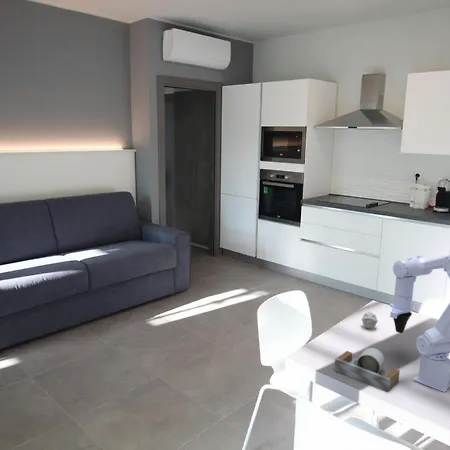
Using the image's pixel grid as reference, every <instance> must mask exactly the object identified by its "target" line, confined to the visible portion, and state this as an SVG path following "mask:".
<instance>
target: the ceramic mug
mask: <svg viewBox="0 0 450 450" xmlns="http://www.w3.org/2000/svg"><path fill="white" fill-rule="evenodd" d="M349 363H351V364H354V365H356V366H359V367H361V368H364V369H367V370H369V371H372V372H374V373H377V374H379V375H380V372H381V370H382V369H383V366H384V364H385V357H384V355H383V352H382V351H380V350H379V349H377V348H375V347H369V348H366V349H364V350H363V351H362V352H361V354H360V355H359V356H358V357H357V358H355V359H352V361H350V362H349Z"/></svg>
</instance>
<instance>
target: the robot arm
mask: <svg viewBox="0 0 450 450" xmlns="http://www.w3.org/2000/svg"><path fill="white" fill-rule="evenodd" d="M438 269H439V270H440V269H443V271H444V272H446V274H447V276H448V279H450V255H449V254H448V255H444V256H443V255H442V256H438V257H434V258H430V257H427V256H424V255H417V256H416V257H415V258H412V257H409V258H407V259H406V260H400V259H399V260H397V261H395V262H394V263H393V266H392V270H393V271H392V272H393V274H394V275H395V284H394V286H395V287H394V297H393V302H391V303H390V304H389V307H391V311H390V313H389V314H390V315H389V317H390V318H392V319H393V323H394V327H395V332H397V333H400V334H403V333H404V331H405V329H406V326H407V324H408V321H409V319H410V318H411V316H412V315H413V314H412V310H413V306H414V305H413V304H414V302H413V295H414V286H415V285H414V284H415V282H416V281H417V277H420V276H427V275H430V274H431V273H432V272H433V270H438ZM415 346H416V349H417V351H418V353H419V354H420V360H419V368H418V369H419V370H418V373H417V374H416V376H414V378H413V381H415V382H417V383H419V384H422V385H425V386H427V387H430V388H433V389H436V390H438V391H440V392H443V393H445V392H447V390H449V388H450V358H449V354H450V302H449V303H448V305H447V306H446V308H445V310H444V311H443V312H442V314H441V315H440V317H439V319H438V320H437V322H436V323H435V324H434V326H433V327H431V328H428V329H427V330H425V331H424V332H423V334H421V335H419V336H417V338H416V342H415Z"/></svg>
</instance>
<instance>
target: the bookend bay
mask: <svg viewBox="0 0 450 450" xmlns="http://www.w3.org/2000/svg"><path fill="white" fill-rule="evenodd" d="M352 360H353V352H351V351H348V350H346V351H344V352H343V353H342V354H341V355H339V356H337V357H336V358H334V371H335V372H338V373H341V374H343V375H346V376H347V377H350V378H352V379H355V380H357V381H360V382H362V383H364V384H367V385H369V386H371V387H374V388H377V389H379V390H382V391H384V392H386V393H389V392H390V391H391V390H392V389H393V388H394V387H395V386H396V385H397V384H398V383H399V381H400V380H399V379H400V369H398V368H395V367H393V368H392V369H391V370H389V372H387V373H386V374H384V375H382V374H380V373H379V374H377V373H374V372H372V371H369V370H367V369H364V368H361V367H359V366H356V365H354V364H351V363H349V362H350V361H352Z"/></svg>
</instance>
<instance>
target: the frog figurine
mask: <svg viewBox="0 0 450 450" xmlns="http://www.w3.org/2000/svg"><path fill="white" fill-rule="evenodd" d="M361 321H362V324H363V326H364V327H365V328H367V329H373V328H375V326H376V325H377V323H378V317H377V315H376V314H375V313H373V312H372V311H368V312H365V313H364V314H363V315H362V318H361Z"/></svg>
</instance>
